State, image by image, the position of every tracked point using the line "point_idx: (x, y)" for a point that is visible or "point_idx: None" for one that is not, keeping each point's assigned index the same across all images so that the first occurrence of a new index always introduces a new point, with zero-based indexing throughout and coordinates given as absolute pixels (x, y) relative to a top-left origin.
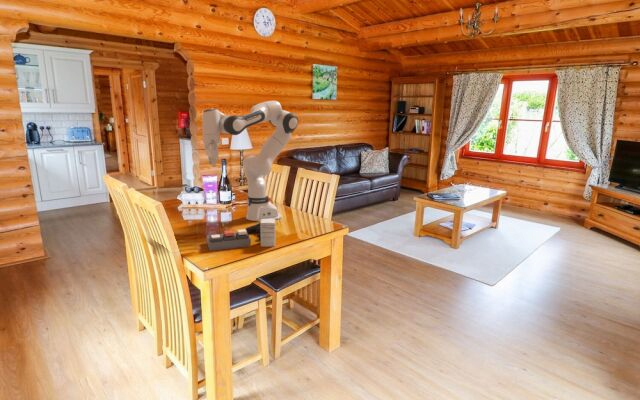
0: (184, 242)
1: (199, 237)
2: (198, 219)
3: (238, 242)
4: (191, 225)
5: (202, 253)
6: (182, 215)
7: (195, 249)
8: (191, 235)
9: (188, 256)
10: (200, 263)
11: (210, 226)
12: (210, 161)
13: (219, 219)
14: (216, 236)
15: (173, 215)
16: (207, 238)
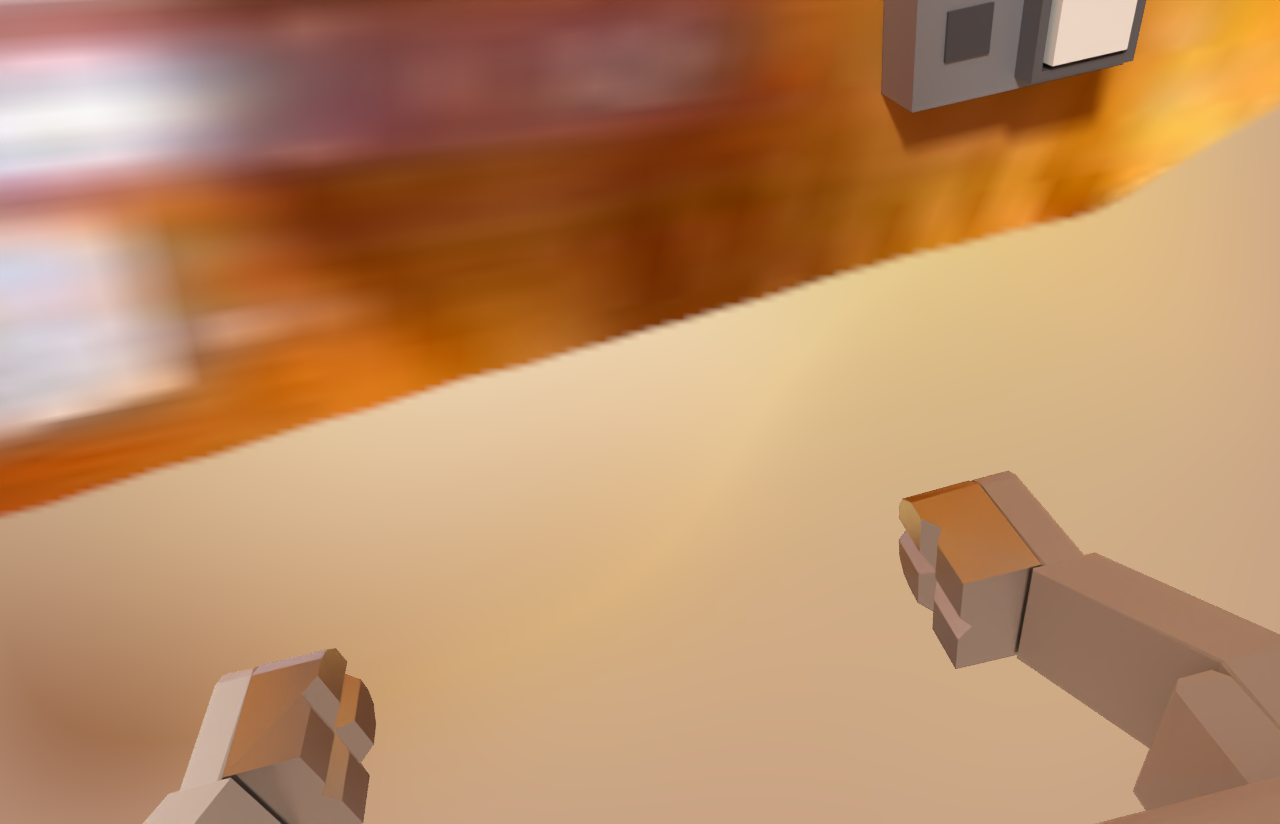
0: (817, 269)
1: (727, 174)
2: (137, 265)
3: None
4: (366, 295)
5: (1100, 102)
6: (25, 430)
7: (996, 166)
8: (661, 247)
9: (1105, 193)
10: (1270, 93)
11: (391, 108)
12: (345, 798)
13: (73, 19)
14: (1113, 5)
15: (52, 495)
16: (980, 94)
